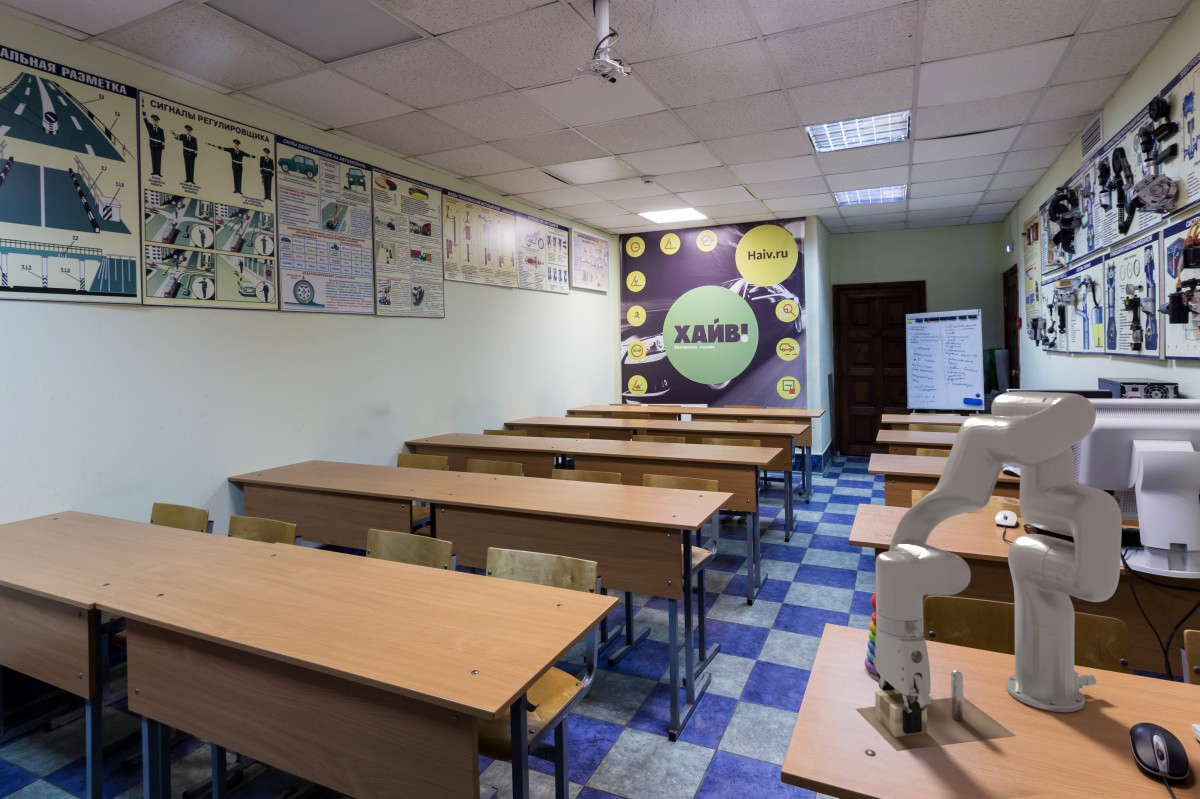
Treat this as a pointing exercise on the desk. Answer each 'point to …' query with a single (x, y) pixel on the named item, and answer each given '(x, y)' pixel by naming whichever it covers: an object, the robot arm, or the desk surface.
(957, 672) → the grey glassy cylinder
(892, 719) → the wooden square holder
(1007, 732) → the brown rectangular board
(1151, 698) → the desk surface
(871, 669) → the stacking toy
